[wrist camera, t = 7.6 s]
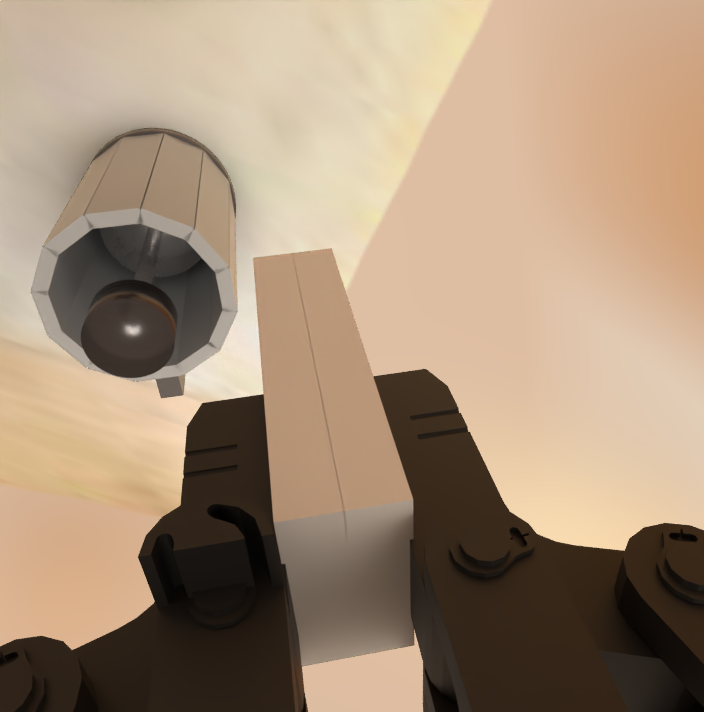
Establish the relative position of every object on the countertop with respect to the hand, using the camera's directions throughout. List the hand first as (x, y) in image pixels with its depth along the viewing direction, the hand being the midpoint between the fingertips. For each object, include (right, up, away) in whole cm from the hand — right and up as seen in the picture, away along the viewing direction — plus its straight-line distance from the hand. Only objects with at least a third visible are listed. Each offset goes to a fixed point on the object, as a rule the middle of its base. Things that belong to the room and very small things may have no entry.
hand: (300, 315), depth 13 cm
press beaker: (-13, +9, +35) cm, 39 cm away
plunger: (-12, +8, +31) cm, 35 cm away
